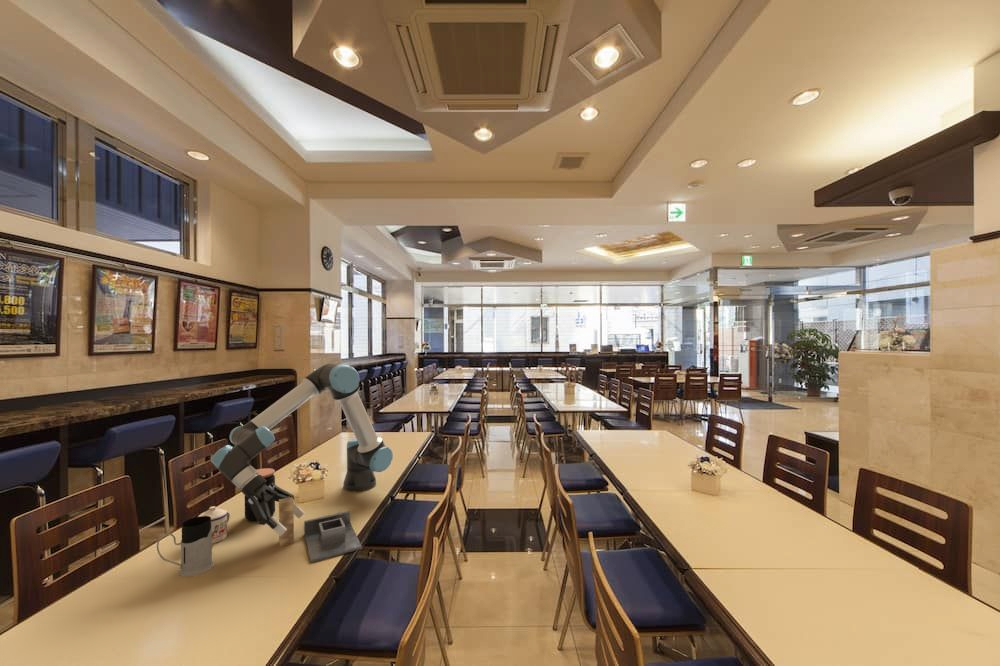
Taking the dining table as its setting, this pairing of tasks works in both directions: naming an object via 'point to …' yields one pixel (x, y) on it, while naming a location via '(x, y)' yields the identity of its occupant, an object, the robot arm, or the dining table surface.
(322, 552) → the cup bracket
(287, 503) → the wooden block
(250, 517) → the coffee jar
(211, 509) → the teacup with lid
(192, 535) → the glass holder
